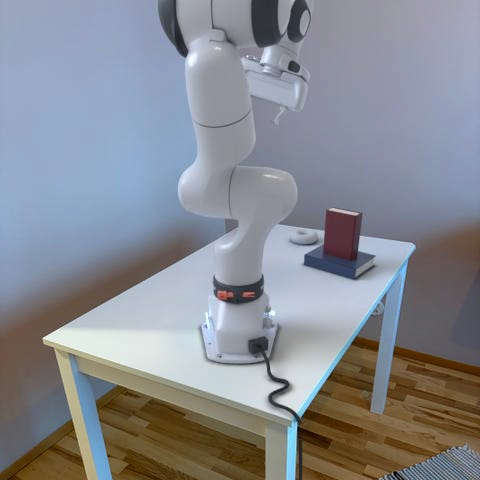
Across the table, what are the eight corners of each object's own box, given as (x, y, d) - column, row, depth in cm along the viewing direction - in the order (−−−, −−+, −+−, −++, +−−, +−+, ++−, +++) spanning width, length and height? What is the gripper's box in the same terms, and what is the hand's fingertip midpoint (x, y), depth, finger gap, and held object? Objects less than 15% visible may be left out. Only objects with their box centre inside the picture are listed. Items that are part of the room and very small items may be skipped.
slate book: (354, 279, 138) (355, 268, 136) (303, 264, 148) (304, 254, 146) (374, 265, 147) (375, 255, 145) (325, 252, 157) (325, 242, 155)
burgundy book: (351, 260, 142) (356, 216, 134) (322, 253, 147) (326, 209, 140) (357, 256, 144) (362, 212, 137) (329, 249, 150) (333, 206, 143)
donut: (288, 236, 171) (290, 245, 162) (289, 227, 169) (290, 236, 161) (316, 236, 171) (319, 245, 162) (316, 227, 169) (319, 236, 160)
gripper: (238, 48, 119) (220, 104, 123) (310, 69, 113) (288, 127, 117) (247, 57, 125) (230, 110, 129) (316, 77, 118) (295, 132, 123)
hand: (258, 118), depth 123 cm, fingers open, 8 cm apart
